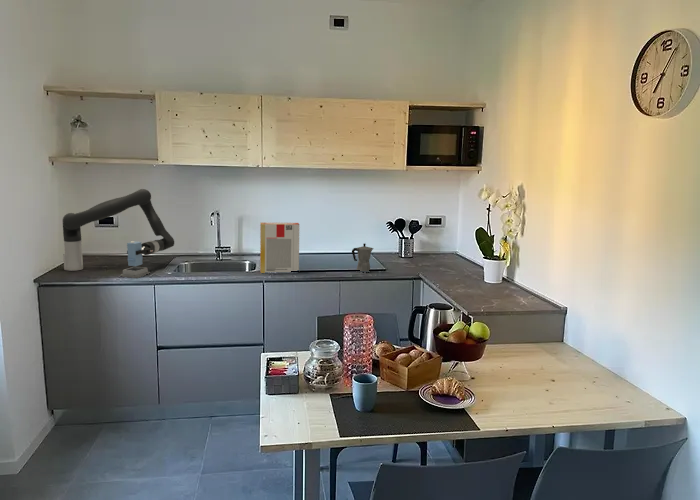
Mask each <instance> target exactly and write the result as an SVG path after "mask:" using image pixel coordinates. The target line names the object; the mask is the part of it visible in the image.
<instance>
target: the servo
mask: <svg viewBox="0 0 700 500" xmlns="http://www.w3.org/2000/svg"><path fill="white" fill-rule="evenodd" d="M126 248H127V250H128V254H127V262H128V263H127V264H128V267H129V266H131V267H139V266H141V265H143V264H144V263H143V259H144V257H143V254H139V255H136V251H138V250H141V249H142V241H135V240H131V241H130V242H127V243H126ZM127 250H126V251H127Z"/></svg>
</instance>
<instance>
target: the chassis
mask: <svg viewBox="0 0 700 500" xmlns="http://www.w3.org/2000/svg"><path fill="white" fill-rule="evenodd" d="M149 273H150V274H151V271H148V267H141V266H131V267H129V268H125V269H122V273H121V274H120V276H122V278H130V277H131V278H133V279H139V278H142V277H144V275H145V276H147V275H146V274H148V275H150V274H149ZM141 276H142V277H141Z"/></svg>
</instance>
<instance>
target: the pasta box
mask: <svg viewBox="0 0 700 500" xmlns="http://www.w3.org/2000/svg"><path fill="white" fill-rule="evenodd" d="M259 226H260V237H259V238H260V247H259V248H260V250H259V251H260V254H259V255H260V256H259V257H260V261H259V262H260V263H259V265H260V266H259V267H260V268H259V269H260V271H259V272H261V273H265V272H291V271H297V270H299V271H300V223H299V222H260V225H259ZM261 273H260V274H261Z"/></svg>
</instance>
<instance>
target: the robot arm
mask: <svg viewBox="0 0 700 500" xmlns="http://www.w3.org/2000/svg"><path fill="white" fill-rule="evenodd" d="M151 199H152V194H151V191H149V190H148V189H145V188H141V189H140V188H139V189H138V190H136V191H134V192H132V193H129V194H127V195H123V196H120V197H115V198H112V199H109V200H106V201H104V202H100V203H98V204H96V205H93V206H92V207H90V208H89V209H86V210H84V211H79V212H76V213H74V212H68V213H66V214H65V215H64V216H63V217H62V234H63V235H62V236H63V248H64V253H63V269H64V271H70V272H71V271H72V272H73V271H80V270H83V269H84V264H83V263H84V262H83V244H82V230H81V229H82V227H84V226H86V225H87V224H90V223H92V222H96V221H100V220H101V221H102V220H104V219H106V218H107V219H108V218H111V217H113V216H116V215H118V214H121V213H122V212H124V211H126V210H128V209H129V208H133V207H137V206H139V207H140V208H141V210H142V211H143V213H144V215H145V217H146V220H147V221H148V223H149V225H150V228H151V229H152V232H153V234H154V235H155V236H156V237H159V236H161V237H162V238H161V239H155V240H150V241H145V242H141V244H142V249H141V250H138V251H136V255H139V254H142V255H144V256H148V255H149V256H150V255H153V254H155V253H157V252H162V251H165V250H168V249H170V248H173V247H174V246H175V239H174V237H173V236H172V235H171V234H170V233H169V232H168V231H167V229H166V228H165V225H164V223H163V222H162V220H161V218H160V217H159V215H158V213H157V211H156V210H155V208H154V207H153V203H152V200H151ZM126 255H128V250H126Z"/></svg>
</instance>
